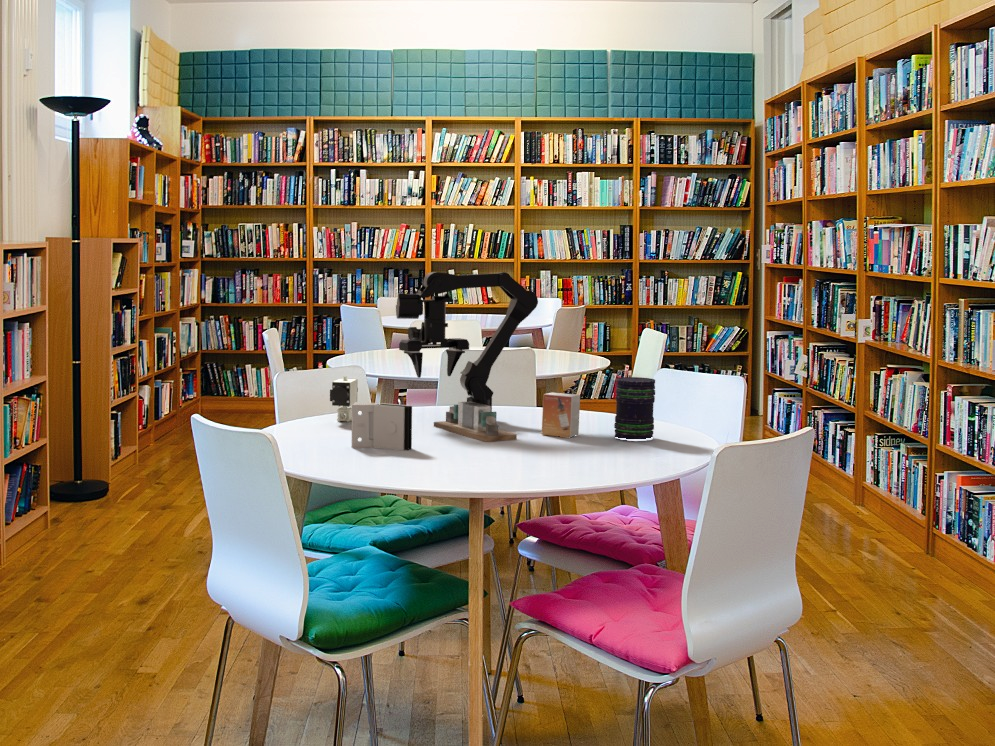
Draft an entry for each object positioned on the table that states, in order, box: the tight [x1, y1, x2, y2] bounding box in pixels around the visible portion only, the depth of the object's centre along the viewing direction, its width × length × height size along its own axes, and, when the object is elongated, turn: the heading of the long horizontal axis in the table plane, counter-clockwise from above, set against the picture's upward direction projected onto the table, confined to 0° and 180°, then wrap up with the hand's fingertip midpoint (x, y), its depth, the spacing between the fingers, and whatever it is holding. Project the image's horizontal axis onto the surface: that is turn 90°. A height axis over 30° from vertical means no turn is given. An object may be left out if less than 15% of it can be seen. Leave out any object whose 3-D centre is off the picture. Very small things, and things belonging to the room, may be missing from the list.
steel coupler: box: [457, 401, 491, 431], centre depth 271 cm, size 10×4×6 cm, turn 32°
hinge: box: [351, 402, 413, 451], centre depth 248 cm, size 14×5×10 cm, turn 80°
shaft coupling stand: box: [433, 404, 518, 443], centre depth 271 cm, size 9×26×6 cm, turn 32°
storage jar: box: [613, 376, 656, 439], centre depth 267 cm, size 10×10×15 cm
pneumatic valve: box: [329, 375, 359, 423], centre depth 286 cm, size 6×12×12 cm, turn 174°
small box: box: [541, 391, 581, 438], centre depth 270 cm, size 8×6×10 cm
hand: (434, 376), depth 288 cm, fingers open, 9 cm apart
